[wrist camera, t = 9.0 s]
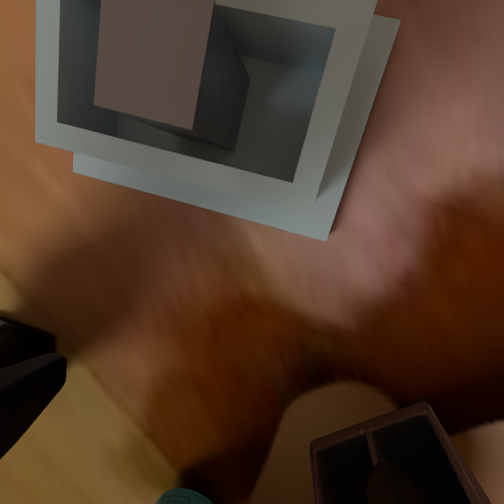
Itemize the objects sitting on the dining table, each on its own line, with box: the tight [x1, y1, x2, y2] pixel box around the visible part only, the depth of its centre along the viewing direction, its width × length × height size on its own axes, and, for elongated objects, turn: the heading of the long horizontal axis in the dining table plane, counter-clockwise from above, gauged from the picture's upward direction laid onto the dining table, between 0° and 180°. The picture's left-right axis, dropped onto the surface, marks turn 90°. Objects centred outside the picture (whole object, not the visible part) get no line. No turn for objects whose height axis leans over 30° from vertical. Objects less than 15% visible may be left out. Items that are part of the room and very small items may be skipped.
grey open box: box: [35, 0, 401, 241], centre depth 14 cm, size 18×12×6 cm, turn 76°
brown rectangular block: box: [94, 0, 251, 151], centre depth 13 cm, size 4×4×7 cm
